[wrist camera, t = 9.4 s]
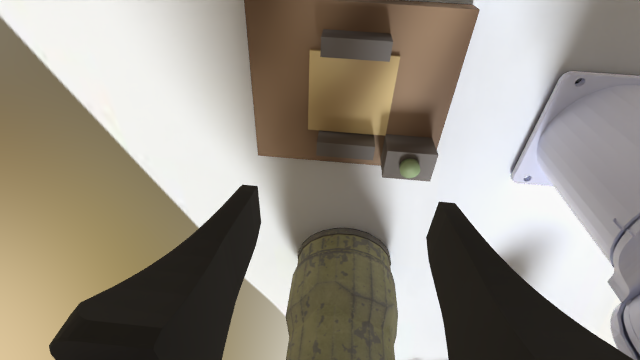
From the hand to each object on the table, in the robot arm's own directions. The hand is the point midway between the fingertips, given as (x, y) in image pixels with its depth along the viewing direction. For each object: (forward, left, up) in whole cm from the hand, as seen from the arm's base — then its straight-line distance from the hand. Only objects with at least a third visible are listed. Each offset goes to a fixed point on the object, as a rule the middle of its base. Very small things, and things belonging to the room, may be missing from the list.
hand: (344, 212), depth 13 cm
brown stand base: (0, -1, -10) cm, 10 cm away
